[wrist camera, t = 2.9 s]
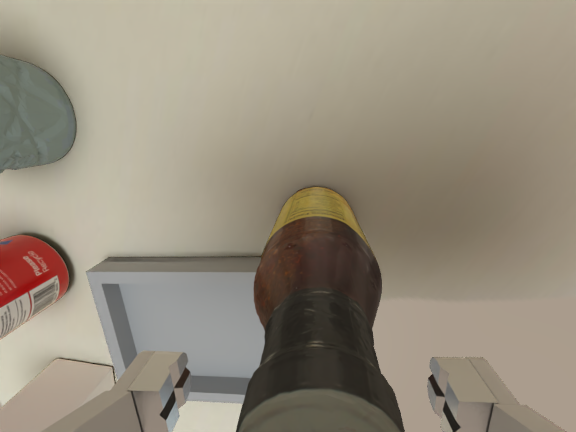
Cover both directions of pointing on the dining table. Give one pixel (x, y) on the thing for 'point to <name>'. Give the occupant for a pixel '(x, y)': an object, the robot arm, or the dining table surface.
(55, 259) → the soda can
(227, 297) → the tray
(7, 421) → the milk carton
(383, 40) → the dining table surface
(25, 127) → the blue gray cup
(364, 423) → the sauce bottle
